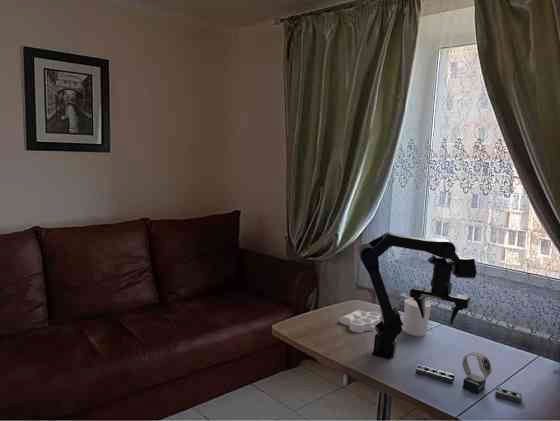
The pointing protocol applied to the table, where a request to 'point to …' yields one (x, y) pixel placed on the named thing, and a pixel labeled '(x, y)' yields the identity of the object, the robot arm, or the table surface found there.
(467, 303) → the robot arm
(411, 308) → the candle holder
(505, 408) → the table surface
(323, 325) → the table surface
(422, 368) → the perforated metal strips
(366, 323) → the white lumpy slab
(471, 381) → the watch
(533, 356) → the table surface
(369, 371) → the table surface
